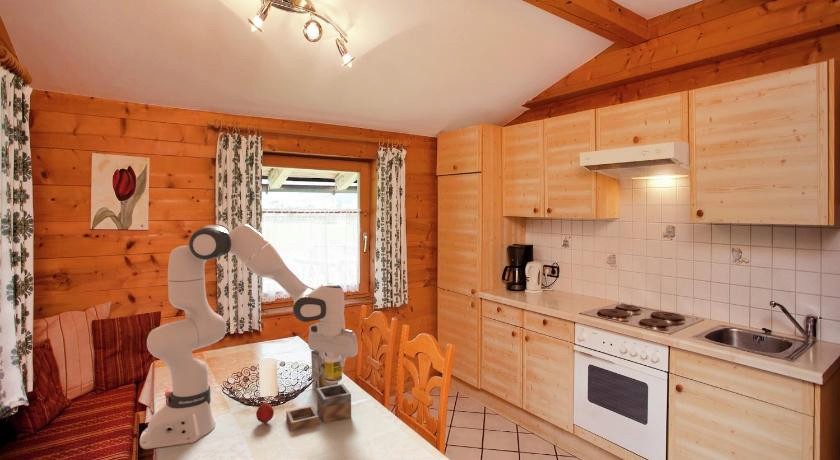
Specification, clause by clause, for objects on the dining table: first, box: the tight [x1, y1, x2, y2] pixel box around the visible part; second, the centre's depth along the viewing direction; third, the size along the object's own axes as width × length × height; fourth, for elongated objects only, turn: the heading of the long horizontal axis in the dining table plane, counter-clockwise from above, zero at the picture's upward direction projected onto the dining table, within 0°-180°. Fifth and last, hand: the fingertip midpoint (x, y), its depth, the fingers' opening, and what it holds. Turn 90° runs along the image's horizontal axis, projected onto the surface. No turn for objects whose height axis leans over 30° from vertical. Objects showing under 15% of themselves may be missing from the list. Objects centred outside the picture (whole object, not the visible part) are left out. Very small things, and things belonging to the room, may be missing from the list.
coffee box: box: [310, 350, 339, 391], centre depth 187 cm, size 9×6×16 cm
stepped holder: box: [285, 383, 352, 432], centre depth 161 cm, size 21×10×9 cm, turn 117°
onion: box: [255, 401, 275, 424], centre depth 157 cm, size 6×6×8 cm
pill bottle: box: [325, 352, 343, 383], centre depth 162 cm, size 6×6×11 cm
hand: (333, 364), depth 162 cm, fingers closed on pill bottle, 6 cm apart
